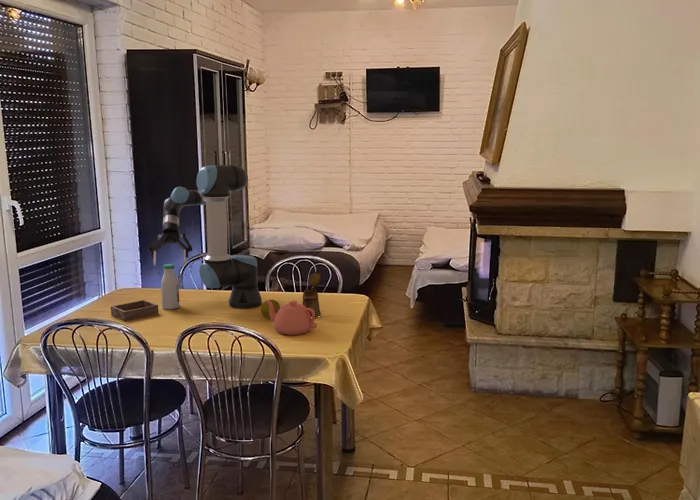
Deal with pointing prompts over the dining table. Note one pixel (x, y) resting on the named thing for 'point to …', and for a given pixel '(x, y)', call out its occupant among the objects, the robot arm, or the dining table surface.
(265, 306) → the lemon
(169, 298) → the milk bottle
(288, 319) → the teapot
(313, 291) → the dark brown tall piece
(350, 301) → the dining table surface
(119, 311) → the tray
